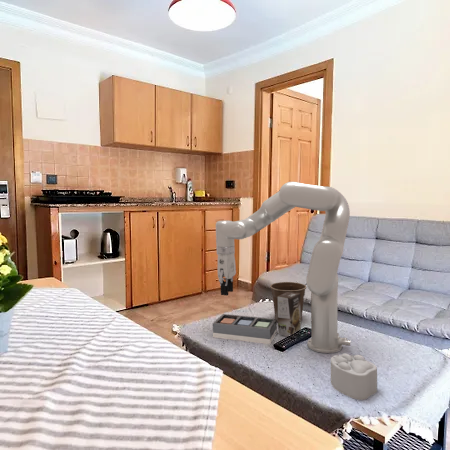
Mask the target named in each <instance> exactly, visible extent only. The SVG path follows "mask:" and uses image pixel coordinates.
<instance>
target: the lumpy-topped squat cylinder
mask: <svg viewBox="0 0 450 450" xmlns="http://www.w3.org/2000/svg"><path fill="white" fill-rule="evenodd" d="M330 383H331V384H330V385H332V387H333V388H334V389H335V390H336V391H337V392H339V393H341V394H342V395H345V396H347V397H348V398H352V399H354V400H358V401H366V400H367V399H369V397H371V396H373V395H375V394H377V392H378V367H377V365H375V364H374V363H373V362H370V361H369V360H367V359H365V357H364V356H363V355H361V354H355V355H353V354H352V355H350V354H349V353H342V354H335V355H333V356H331V358H330Z"/></svg>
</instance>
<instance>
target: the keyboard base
mask: <svg viewBox="0 0 450 450" xmlns="http://www.w3.org/2000/svg"><path fill="white" fill-rule="evenodd" d="M277 334H278V328H277V329H276V330H275V332H274V334H273V335H272V337H271V339H263V338H254V337H246V336H237V335H229V334H220V333H213V332H212V337H213V338H215V339H223V340H224V339H225V340H231V341H240V342H247V343H256V344H264V345H271V343H272V342H273V340H274V339H275V337H276V335H277Z"/></svg>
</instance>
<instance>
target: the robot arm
mask: <svg viewBox="0 0 450 450" xmlns="http://www.w3.org/2000/svg"><path fill="white" fill-rule="evenodd" d="M295 208H302V209H306V210H311V211H318V212H319V211H320V212H325V216H324V221H323V223H322V230H321V234H320V237H319V240H318V241H317V242H316V243H315V244H314V247H313V248H312V252H311V257H310V260H309V266H308V270H307V275H306V287H307V288H308V290H309V291H310V314H311V315H310V316H311V317H310V319H311V323H310V324H311V332H310V333H311V337H310V338H309V339H308V340H307V343H306V344H307V347H308V348H309V349H310V350H312V351H314V352H317V353H322V354H335V353H338V352H340V351H341V350H342V348H343V346H348V347H350V346H351V339H350V340H348V338H347V337H341V336H340V334H339V332H338V327H339V326H338V292H339V291H338V289H339V288H338V287H339V275H338V271H339V267H340V263H341V258H342V256H343V254H344V247H345V242H346V238H347V233H348V226H349V221H350V211H351V210H350V206H349V203H348V201H347V199H346V197H345V196H344V195H343V194H342V193H341V192H340V191H339V190H337V189H336V188H334V187H332V186H322V185H314V184H309V183H308V184H307V183H301V182H299V181H288V182H286V183H284V184H282V186H281V187H280V189H279V190H278V191H277V192H276V193H274V194H273V195H271V196H269V197H268V198H267V199H265V200H264V201H263V202H262V203H261V206H260V207H259V209H257V211H255V212H254V213H252V214H251V215H249V216H248V217H246V218H244V219H240V220H236V221H232V220H218V221H216V223H215V245H216V247H215V248H216V255H217V277H218V283H219V286H220V296H229V293H233V292H234V279H233V278H234V277H235V276H236V274H237V269H236V257H235V256H236V255H235V254H236V253H235V251H236V250H235V240H244V239H247V238H249V237H252V236H254V235H255V234H257V233H259V232H260V231H261V230H263V229H264V228H267V226H269V225H270V224H272V223H274V222H275V221H276V220H278V219H279V218H281V217H283V216H284V215H285V214H287V213H288V212H290V211H291V210H293V209H295Z"/></svg>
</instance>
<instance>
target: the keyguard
mask: <svg viewBox="0 0 450 450" xmlns="http://www.w3.org/2000/svg"><path fill="white" fill-rule="evenodd" d="M224 318H228V319H235V321H234V322H233V323H232V324H222V323H220V322H221V321H222V320H223V319H224ZM240 320H248V321H252V323H251V324H250V326H241V325H237V324H238V323H239V321H240ZM257 322H268V323H270V326H269V327H268V328H260V327H255V325H256V324H257ZM276 329H277V330H278V322H277V319H275V318H269V317H259V316H258V317H257V316H249V315H237V314H236V315H235V314H228V313H223V314H221V315H220V316H219V317H218V318H217V319H216V320H214V322H213V323H212V334H213V333H220V334H229V335H237V336H246V337H254V338H263V339H271V337H272V335H273V334H274V332H275V330H276Z"/></svg>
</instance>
